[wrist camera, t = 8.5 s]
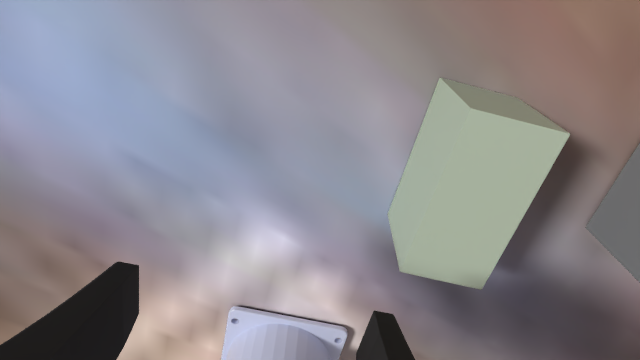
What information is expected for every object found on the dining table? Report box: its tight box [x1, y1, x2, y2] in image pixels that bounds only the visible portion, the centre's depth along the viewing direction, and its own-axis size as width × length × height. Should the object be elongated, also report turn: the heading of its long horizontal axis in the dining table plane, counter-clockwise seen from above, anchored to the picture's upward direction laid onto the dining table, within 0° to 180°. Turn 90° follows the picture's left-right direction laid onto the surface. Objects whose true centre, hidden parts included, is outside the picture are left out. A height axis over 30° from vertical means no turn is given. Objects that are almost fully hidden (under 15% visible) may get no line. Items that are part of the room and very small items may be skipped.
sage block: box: [388, 78, 570, 290], centre depth 19 cm, size 8×4×5 cm, turn 166°
